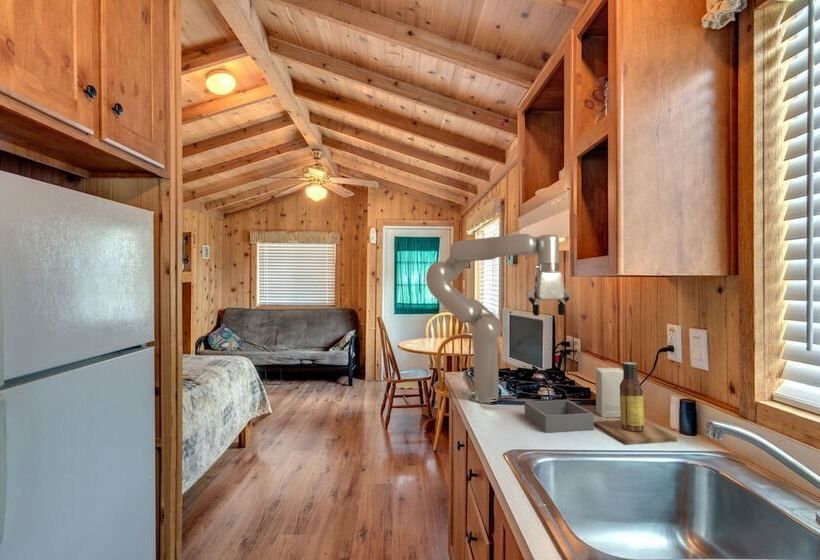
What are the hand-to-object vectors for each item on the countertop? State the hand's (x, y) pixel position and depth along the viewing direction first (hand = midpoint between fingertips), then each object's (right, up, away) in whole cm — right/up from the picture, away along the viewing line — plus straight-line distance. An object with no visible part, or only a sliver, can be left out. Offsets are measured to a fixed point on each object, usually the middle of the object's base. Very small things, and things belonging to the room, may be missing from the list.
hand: (548, 315), depth 156 cm
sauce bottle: (+16, -32, -28) cm, 46 cm away
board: (+16, -33, -28) cm, 46 cm away
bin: (-3, -33, -19) cm, 38 cm away
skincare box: (+18, -34, -11) cm, 39 cm away
